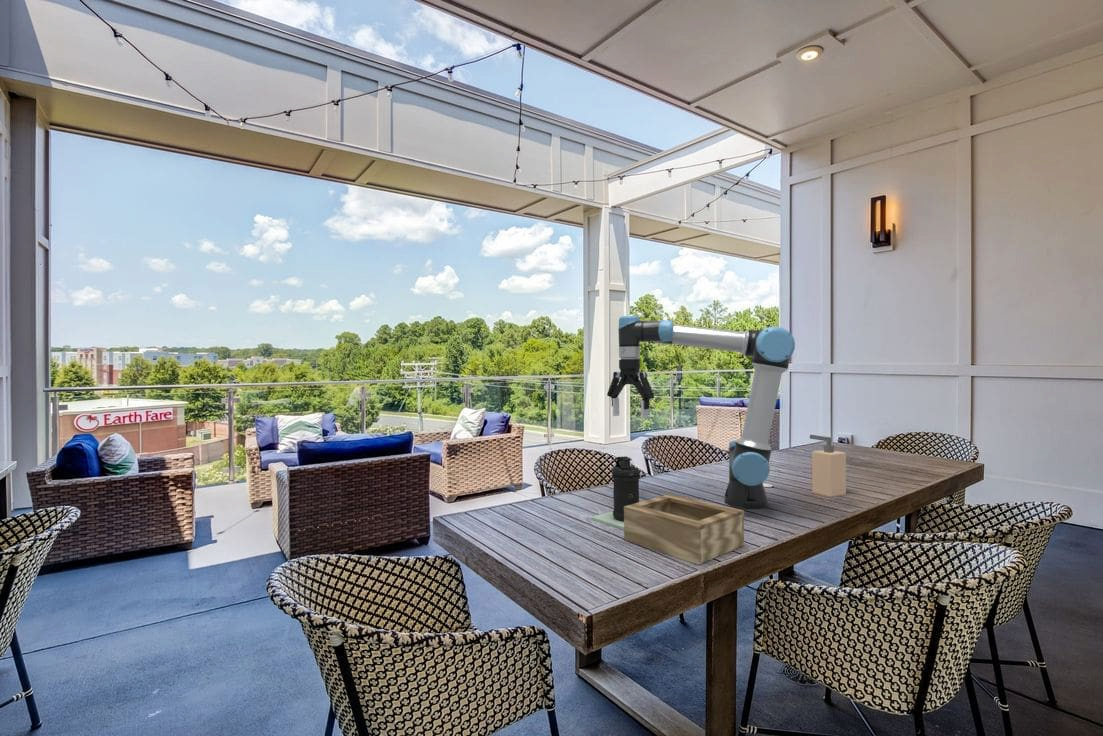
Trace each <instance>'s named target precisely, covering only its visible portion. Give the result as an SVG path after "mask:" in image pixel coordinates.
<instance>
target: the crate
mask: <svg viewBox="0 0 1103 736" xmlns="http://www.w3.org/2000/svg"><path fill="white" fill-rule="evenodd" d="M744 517H745V511H744V510H743V509H739V508H736V507H730V506H725V505H721V504H716V503H712V502H708V501H703V500H700V499H699V500H698V499H694V498H690V497H686V496H682V495H681V496H680V495H676V494H672V493H668V494H664V495H660V496H656V497H653V498H650V499H646V500H642V501H639V502H638V503H635V504H631V505H627V506H624V530H623V535H624V536H623V540H624V541H627V542H629V543H632V544H635V545H638V546H641V547H644V548H646V549H650V550H653V551H657V552H658V553H659V552H660V553H663V554H665V555H668V556H670V557H675V558H677V559H680V560H683V561H686V562H689V563H692V564H695V563H696V564H695V565H698V564H700V565H702V564H704V563H703V562H705V563H707V562H709V561H711V560H713V558H714V559H716V558H718V557H720V556H719V555H721V556H722V554H723V555H725V554H727V553H730V552H732V551H735V550H736V549H738V548H742V547H743V546H745V524H744V523H745V521H744V520H745V518H744ZM724 553H725V554H724ZM717 556H718V557H717ZM715 557H716V558H715ZM708 560H709V561H708ZM706 561H707V562H706ZM701 563H702V564H701Z"/></svg>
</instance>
